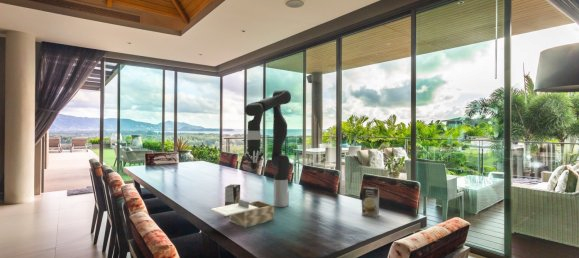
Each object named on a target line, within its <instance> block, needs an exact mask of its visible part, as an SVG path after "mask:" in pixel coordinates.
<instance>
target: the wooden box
mask: <svg viewBox="0 0 579 258" xmlns="http://www.w3.org/2000/svg"><path fill="white" fill-rule="evenodd" d="M249 205H252V206H255V207H258V209H255V210H251V211H246V212H242V213H238V214H233V215H229V222H231V223H233V224H236V225H238V226H240V227H243V228H248V227H252V226H253V227H254V226H255V225H260V224H264V223H267V222H271V221H274V220H275V216H274V215H275V206H274V205H273V204H271V203H269V202H264V201H260V200H255V201H249Z"/></svg>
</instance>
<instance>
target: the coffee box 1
mask: <svg viewBox="0 0 579 258" xmlns="http://www.w3.org/2000/svg"><path fill="white" fill-rule="evenodd" d="M239 199H241V184H229V185H227V186H225V187H224V206H227V205H232V204H237V203H238V200H239Z"/></svg>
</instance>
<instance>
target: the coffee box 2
mask: <svg viewBox="0 0 579 258" xmlns="http://www.w3.org/2000/svg"><path fill="white" fill-rule="evenodd" d="M361 191H362V193H361V194H362V195H361V197H362V198H361V199H362V200H361V216H366V217H373V218H378V217H379V213H380V211H379V210H380V187H377V186H376V187H375V186H368V185H367V186H365V185H364V186H362V188H361Z"/></svg>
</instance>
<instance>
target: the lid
mask: <svg viewBox="0 0 579 258" xmlns="http://www.w3.org/2000/svg"><path fill="white" fill-rule="evenodd" d="M249 203H250V201H247V200H244V199H241V198H240V199H239V200H238V203H237V204H232V205H227V206H225V205H224V206H223V205H222V206H218V207H214V208H213V207H212V208H210V211H212V212H214V213H217V214H219V215H222V216H225V217H228V216H229V217H230V215H233V214H238V213H242V212H246V211H251V210H255V209H258V207H255V206H252V205H249Z"/></svg>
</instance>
